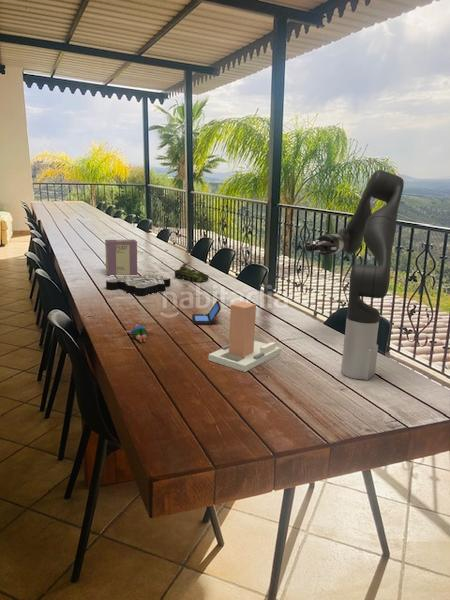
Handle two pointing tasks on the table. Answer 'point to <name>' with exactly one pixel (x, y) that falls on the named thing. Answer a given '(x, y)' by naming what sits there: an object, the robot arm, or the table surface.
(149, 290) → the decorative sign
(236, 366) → the white stand base
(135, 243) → the box
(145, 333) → the toy character
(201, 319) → the object
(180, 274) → the toy vehicle
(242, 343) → the block
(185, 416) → the table surface
